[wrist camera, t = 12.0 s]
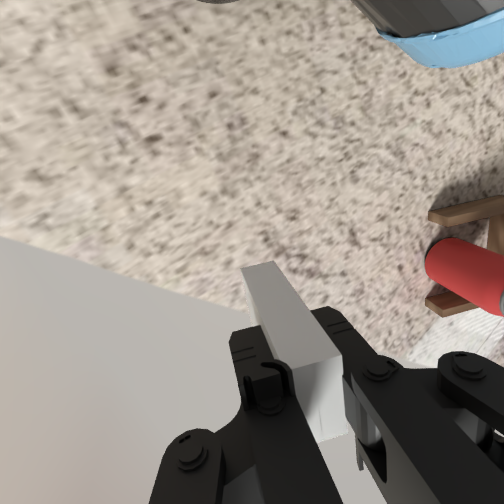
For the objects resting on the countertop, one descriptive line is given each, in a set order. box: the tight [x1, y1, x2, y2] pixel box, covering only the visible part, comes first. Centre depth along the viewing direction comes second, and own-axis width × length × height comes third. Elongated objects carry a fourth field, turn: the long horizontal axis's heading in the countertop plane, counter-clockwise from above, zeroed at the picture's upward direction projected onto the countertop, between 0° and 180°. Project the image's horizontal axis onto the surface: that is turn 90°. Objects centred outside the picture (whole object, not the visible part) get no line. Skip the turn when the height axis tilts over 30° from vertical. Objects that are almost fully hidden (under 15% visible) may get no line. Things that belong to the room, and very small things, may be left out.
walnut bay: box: [425, 195, 504, 318], centre depth 45 cm, size 14×11×4 cm
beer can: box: [425, 237, 504, 317], centre depth 41 cm, size 7×7×12 cm
